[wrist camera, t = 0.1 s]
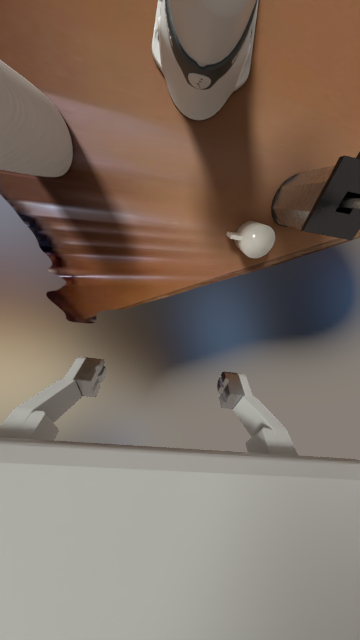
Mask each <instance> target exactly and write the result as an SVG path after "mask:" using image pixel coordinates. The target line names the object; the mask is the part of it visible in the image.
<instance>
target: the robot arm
mask: <svg viewBox="0 0 360 640" xmlns="http://www.w3.org/2000/svg"><path fill="white" fill-rule="evenodd" d="M258 2H259V0H158V5H157V12H156V19H155V26H154V33H153V40H152V55H153V58H154V60H155V62H156V64H157V66H158V67H159V69H160V70H161V71H162V73H163V75H164V77H165V80H166V83H167V87H168V90H169V93H170V95H171V98H172V100H173V102H174V104H175V105H176V107H177V108H178V109H179V110H180V112H181V113H182V114H184V115H185V116H186V117H188V118H190V119H193V120H204V119H207V118H210V117H211V116H213V115H214V114H216V113H217V112H218V111H219V110H220V109H221V108H222V106H223V105H224V104H225V102H226V101H227V99H228V98H229V96H230V95H231V94H232V93H233V92H234V91H235V90H237V89H238V88H240V87H241V86H242V85H243V84H244V83H245V82H246V80H247V78H248V75H249V71H250V64H251V56H252V48H253V41H254V33H255V25H256V17H257V10H258ZM158 38H159V41H158ZM245 63H246V65H245ZM104 363H105V362H104V359H96V358H88V357H78V358H77V359H76V361H75V362H74V364H73V365H72V367H71V368H70V370H69V371H68V373H67V374H66V376H65V377H64V379H60V380H58V381H57V382H55V383H53V384H52V385H51V386H49V387H47V388H46V389H44V390H43V391H41V392H40V393H38V394H36V395H35V396H33V397H32V398H30V399H29V400H27V401H25V402H24V403H22V404H21V405H19V406H18V407H16V408H15V409H14V410H13V411H12V412H11V414H10V415H9V416H8V417H7V419H6V420H5V421H4V422H3V424H2V425H1V426H0V640H360V460H356V459H346V458H329V457H313V456H298V454H297V452H296V450H295V448H294V445H293V443H292V441H291V439H290V437H289V434H288V432H287V430H286V428H285V427H284V426H283V425H282V424H281V423H280V422H279V421H278V420H277V419H276V418H275V417H274V416H273V415H272V414H271V413H270V412H269V411H268V410H267V409H266V407H264V405H262V403H261V402H260V401H259V400H258V399H257V398H256V397H253V395H252V392H251V389H250V387H249V384H248V381H247V378H246V376H245V374H241V373H231V372H222V374H221V377H220V378H219V380H218V384H217V388H218V392H219V393H220V394H221V395H220V397H219V399H220V404H221V408H231V409H233V410H234V412H235V413H236V415H237V416H238V418H239V419H240V421H241V422H242V423H243V425H244V427H245V428H246V429H247V431H248V432H249V434H250V435H251V437H252V438H251V439H249V440H248V441H247V442H246V447H247V451H248V452H231V451H214V450H199V449H182V448H166V447H150V446H149V447H148V446H133V445H117V444H99V443H84V442H67V441H54V439H55V437H56V435H57V434H58V428H57V427H56V426H55V425H54V422H55V421H56V420H57V419H58V418H59V417H60V416H62V415H63V414H64V413H65V412H66V411H67V410H68V409H69V408H70V407H71V406H73V405H74V404H75V403H76V402H77V401H78V400H79V399H80V398H81V397H82V396H89V397H96V396H97V393H98V391H99V389H100V384H99V383H101V382H102V381H103V379H104V377H105V373H106V367H105V366H104Z"/></svg>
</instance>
